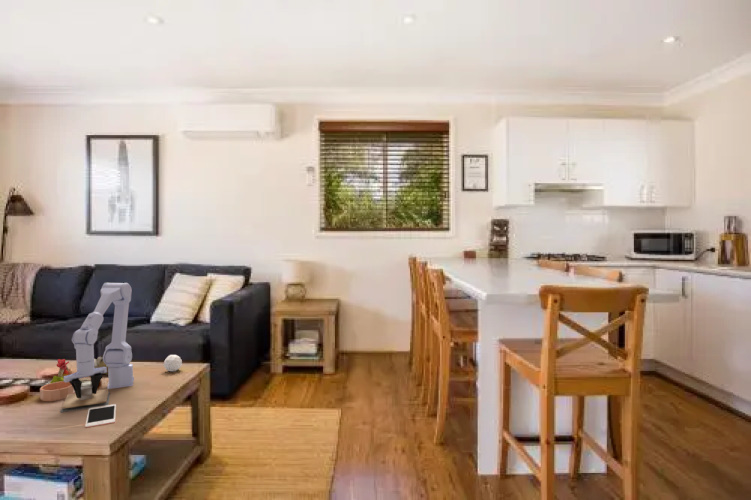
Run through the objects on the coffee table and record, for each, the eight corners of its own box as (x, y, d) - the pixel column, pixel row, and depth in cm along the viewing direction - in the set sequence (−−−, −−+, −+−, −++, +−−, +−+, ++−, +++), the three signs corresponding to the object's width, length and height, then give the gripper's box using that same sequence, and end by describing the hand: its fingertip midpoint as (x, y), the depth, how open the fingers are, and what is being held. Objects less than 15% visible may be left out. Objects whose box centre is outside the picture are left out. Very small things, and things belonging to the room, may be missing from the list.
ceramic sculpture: (94, 351, 220) (126, 353, 220) (94, 369, 221) (125, 371, 221) (80, 357, 210) (113, 359, 210) (80, 376, 210) (113, 378, 210)
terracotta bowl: (75, 390, 193) (75, 379, 193) (72, 399, 183) (72, 388, 183) (43, 394, 188) (43, 383, 188) (38, 403, 178) (37, 392, 178)
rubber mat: (110, 393, 189) (110, 392, 189) (107, 406, 175) (107, 405, 175) (66, 400, 182) (66, 398, 182) (60, 413, 169) (60, 412, 169)
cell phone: (85, 429, 157) (85, 426, 157) (88, 410, 173) (88, 407, 173) (115, 424, 161) (115, 421, 161) (116, 406, 177) (116, 403, 177)
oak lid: (108, 390, 188) (108, 379, 188) (106, 402, 176) (106, 390, 175) (67, 396, 182) (67, 384, 182) (62, 408, 169) (61, 396, 169)
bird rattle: (55, 387, 202) (47, 385, 194) (58, 361, 206) (51, 358, 198) (71, 386, 204) (65, 384, 196) (74, 360, 208) (68, 357, 200)
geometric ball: (169, 377, 217) (157, 366, 214) (175, 367, 225) (164, 355, 222) (181, 370, 216) (170, 358, 213) (187, 360, 223) (176, 348, 220)
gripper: (100, 354, 186) (101, 387, 187) (59, 363, 174) (60, 399, 175) (109, 357, 182) (110, 391, 183) (68, 366, 170) (69, 403, 171)
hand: (86, 395), depth 179 cm, fingers closed on oak lid, 5 cm apart
